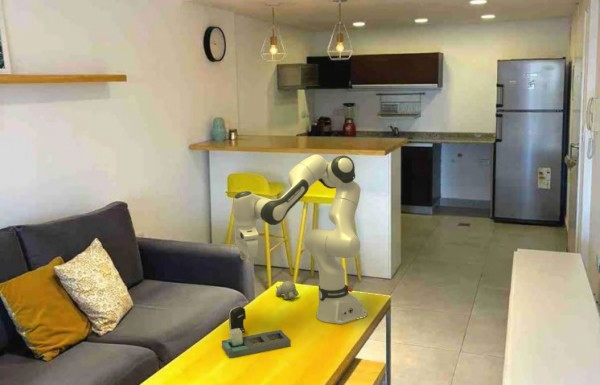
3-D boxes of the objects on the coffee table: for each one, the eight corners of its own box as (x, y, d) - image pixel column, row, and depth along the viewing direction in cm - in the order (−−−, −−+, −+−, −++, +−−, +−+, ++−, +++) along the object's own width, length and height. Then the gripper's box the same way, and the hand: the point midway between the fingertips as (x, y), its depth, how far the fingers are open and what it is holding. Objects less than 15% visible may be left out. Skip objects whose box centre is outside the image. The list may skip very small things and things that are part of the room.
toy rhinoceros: (283, 298, 294) (278, 282, 295) (301, 294, 287) (296, 277, 287) (274, 303, 288) (268, 286, 289) (292, 299, 281) (286, 281, 281)
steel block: (240, 347, 237) (239, 328, 235) (243, 351, 233) (242, 331, 232) (230, 348, 236) (229, 329, 234) (233, 353, 232) (232, 333, 230)
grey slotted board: (280, 335, 247) (280, 329, 246) (290, 346, 237) (290, 339, 236) (221, 346, 238) (221, 340, 237) (229, 358, 228) (229, 351, 227)
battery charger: (235, 338, 245) (234, 311, 243) (229, 335, 247) (227, 309, 245) (247, 332, 250) (246, 306, 248) (241, 330, 252) (240, 304, 250)
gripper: (230, 225, 258) (232, 256, 261) (245, 237, 240) (247, 270, 242) (244, 223, 260) (246, 254, 263) (260, 235, 242) (261, 268, 245)
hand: (246, 262), depth 253 cm, fingers open, 8 cm apart
